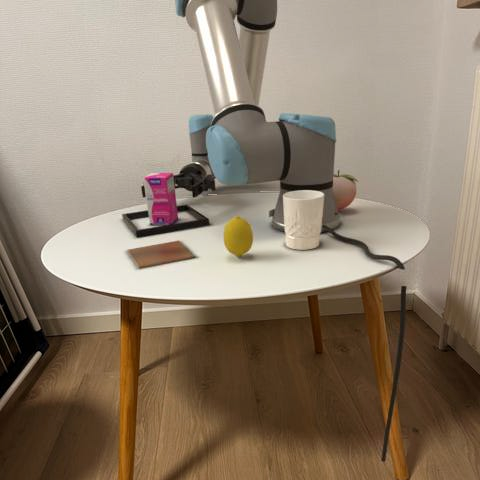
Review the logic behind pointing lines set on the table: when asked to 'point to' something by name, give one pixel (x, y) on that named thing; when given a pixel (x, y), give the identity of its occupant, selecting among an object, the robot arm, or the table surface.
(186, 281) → the table surface
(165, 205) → the supplement box
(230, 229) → the lemon
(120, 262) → the table surface
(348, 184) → the decorative fruit
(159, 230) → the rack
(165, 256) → the mat
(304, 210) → the white cup
